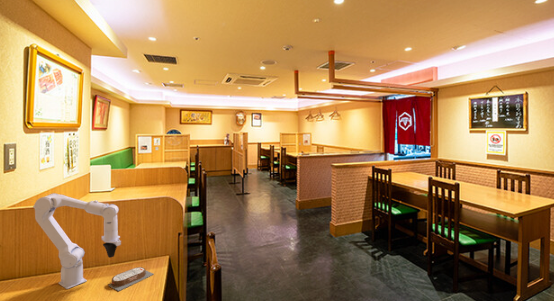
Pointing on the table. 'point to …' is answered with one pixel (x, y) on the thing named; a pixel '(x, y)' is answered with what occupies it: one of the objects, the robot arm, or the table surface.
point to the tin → (128, 276)
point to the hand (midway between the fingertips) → (111, 256)
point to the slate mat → (131, 282)
